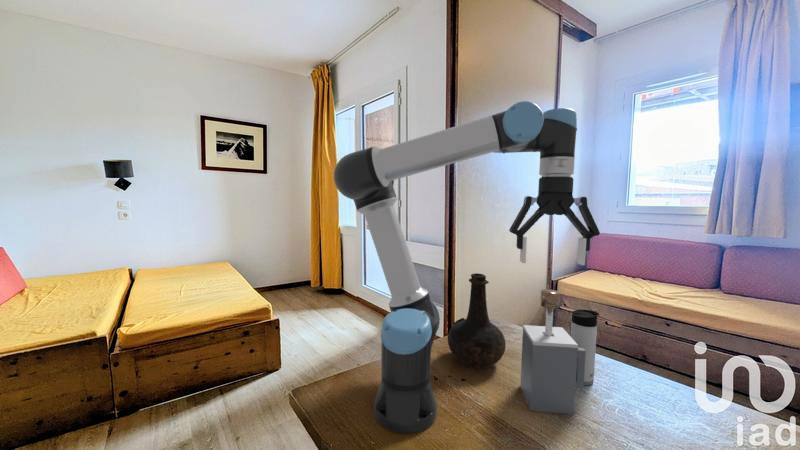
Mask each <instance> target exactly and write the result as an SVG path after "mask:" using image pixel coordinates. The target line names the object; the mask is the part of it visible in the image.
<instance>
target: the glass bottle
mask: <svg viewBox="0 0 800 450" xmlns="http://www.w3.org/2000/svg"><path fill="white" fill-rule="evenodd" d="M470 276H471V277H470V278H468V282H469V283H471V284H470V296H469V297H470V298H469V307H468V312H467V316H466V318H465V317H461V318H459V319H457V320H456V321H454V322H453V323H452V326H451V327H450V329H449V331H448V334H447V345H448V347H449V350H450V351H451V354H452V355H453V356H454V358H455V359H456V360H457V361H458V362H460V363H461V364H462V365H464V366H466V367H470V368H473V369H487V368H490V367H492V366H494V365H496V364H498V362H499V361H500V360H501V359H502V358H503V356H504V354H505V351H506V346H507V345H506V339H505V336H504V334H503V332H502V331H501V329H500V328H499V327H498V326H496V325H495V324H494V323H492V322H491V320H490V319H489V313H488V304H487V290H486V289H487V288H486V287H487V286H486V285H487V284H489V283H490V282H489V281H488V280H487V276H486V275H485V274H483V273H479V272H478V273H475V272H474V273H472V274H470Z"/></svg>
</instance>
